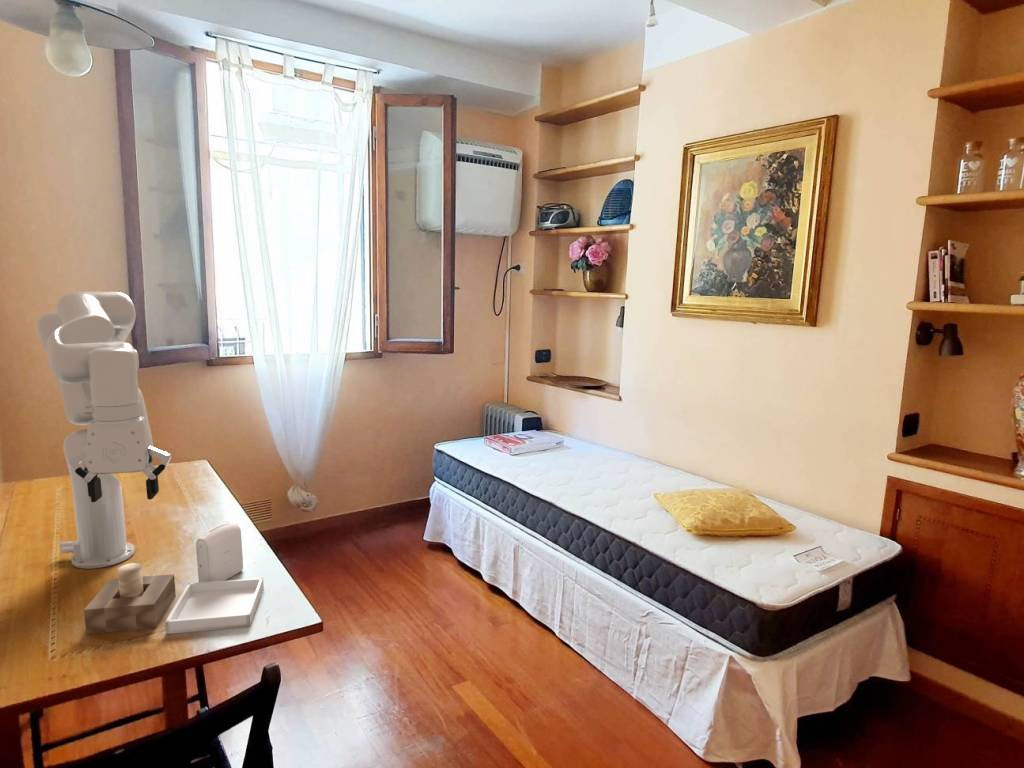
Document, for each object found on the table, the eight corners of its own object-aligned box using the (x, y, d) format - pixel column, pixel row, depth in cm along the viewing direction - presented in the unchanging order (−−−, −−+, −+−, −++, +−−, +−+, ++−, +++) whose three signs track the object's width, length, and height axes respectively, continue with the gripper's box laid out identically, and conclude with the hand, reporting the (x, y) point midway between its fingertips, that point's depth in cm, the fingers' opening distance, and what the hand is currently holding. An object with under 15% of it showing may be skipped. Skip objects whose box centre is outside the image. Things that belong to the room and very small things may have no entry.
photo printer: (210, 590, 133) (206, 537, 131) (195, 586, 134) (191, 533, 132) (246, 570, 142) (243, 520, 140) (232, 566, 144) (229, 516, 142)
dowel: (118, 620, 121) (114, 573, 119) (126, 609, 125) (122, 563, 123) (140, 618, 122) (136, 571, 120) (148, 607, 125) (144, 562, 124)
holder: (86, 633, 116) (83, 609, 115) (112, 601, 128) (110, 578, 127) (156, 627, 119) (154, 604, 118) (175, 596, 130) (174, 574, 129)
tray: (166, 633, 117) (165, 621, 116) (189, 594, 131) (188, 583, 131) (250, 626, 120) (249, 614, 119) (263, 588, 134) (263, 577, 134)
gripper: (55, 418, 110) (64, 508, 113) (160, 415, 114) (167, 503, 117) (74, 409, 118) (83, 494, 121) (173, 407, 121) (179, 489, 124)
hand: (124, 498), depth 119 cm, fingers open, 9 cm apart
